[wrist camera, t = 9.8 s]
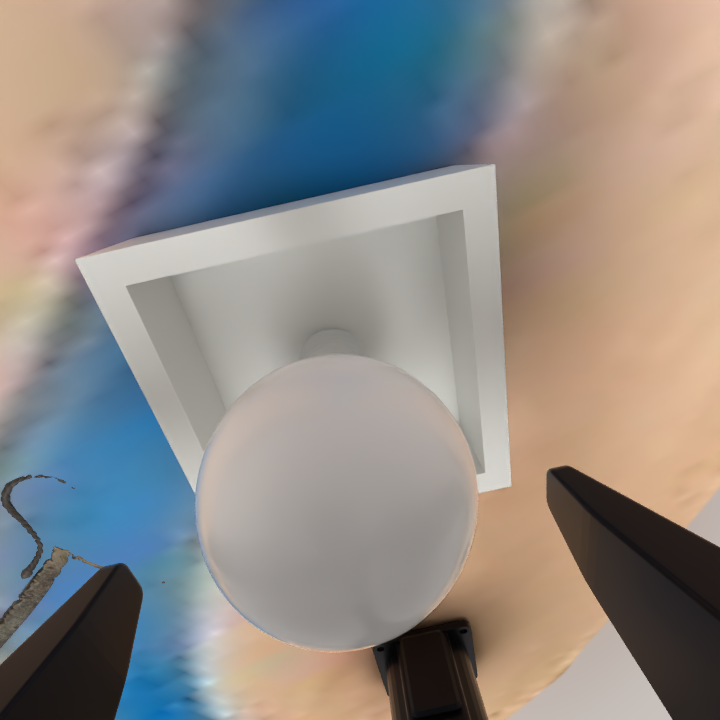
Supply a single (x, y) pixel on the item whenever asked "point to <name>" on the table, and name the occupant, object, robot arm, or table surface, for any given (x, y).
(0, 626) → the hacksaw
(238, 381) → the tray
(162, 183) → the table surface
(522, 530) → the table surface
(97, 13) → the table surface
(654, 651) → the robot arm
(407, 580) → the lightbulb
